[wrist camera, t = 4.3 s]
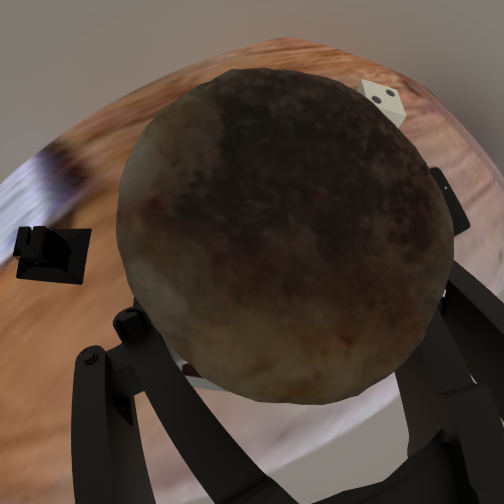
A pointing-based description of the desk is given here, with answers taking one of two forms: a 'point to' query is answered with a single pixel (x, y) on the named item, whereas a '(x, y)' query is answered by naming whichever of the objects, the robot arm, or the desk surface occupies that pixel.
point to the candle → (283, 236)
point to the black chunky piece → (52, 254)
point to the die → (384, 100)
